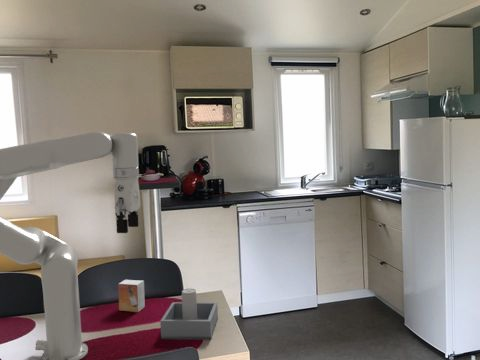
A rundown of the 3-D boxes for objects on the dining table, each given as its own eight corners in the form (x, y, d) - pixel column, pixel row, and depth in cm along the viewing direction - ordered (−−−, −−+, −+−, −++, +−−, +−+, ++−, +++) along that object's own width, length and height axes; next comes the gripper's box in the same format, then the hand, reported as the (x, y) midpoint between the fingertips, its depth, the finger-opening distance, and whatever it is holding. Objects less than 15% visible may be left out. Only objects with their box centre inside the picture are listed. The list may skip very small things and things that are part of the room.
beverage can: (195, 329, 139) (193, 293, 138) (181, 328, 140) (179, 293, 139) (199, 323, 144) (197, 288, 143) (185, 322, 145) (184, 288, 144)
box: (161, 339, 135) (160, 320, 134) (173, 318, 151) (172, 302, 150) (211, 339, 133) (210, 321, 133) (217, 318, 149) (217, 302, 149)
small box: (119, 311, 159) (117, 283, 158) (126, 305, 165) (125, 279, 164) (138, 312, 157) (137, 284, 156) (145, 306, 163) (144, 280, 162)
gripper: (128, 175, 119) (130, 235, 121) (146, 172, 137) (148, 224, 138) (102, 175, 120) (104, 235, 121) (124, 172, 137) (125, 224, 138)
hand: (128, 229), depth 130 cm, fingers open, 9 cm apart
